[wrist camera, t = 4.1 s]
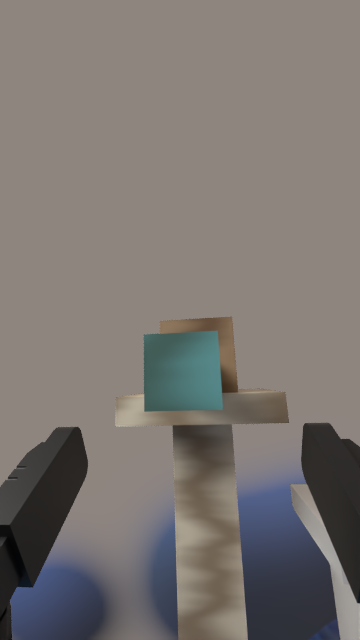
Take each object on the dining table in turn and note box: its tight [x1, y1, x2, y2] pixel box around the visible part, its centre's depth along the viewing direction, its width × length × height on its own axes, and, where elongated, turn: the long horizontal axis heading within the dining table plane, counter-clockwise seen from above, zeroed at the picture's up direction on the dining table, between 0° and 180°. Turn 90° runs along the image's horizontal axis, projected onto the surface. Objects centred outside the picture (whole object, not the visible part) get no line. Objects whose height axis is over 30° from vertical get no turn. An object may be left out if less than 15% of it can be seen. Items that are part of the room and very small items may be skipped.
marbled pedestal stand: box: [115, 389, 289, 640], centre depth 20 cm, size 12×10×32 cm
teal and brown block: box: [144, 317, 238, 412], centre depth 19 cm, size 6×20×6 cm, turn 174°
